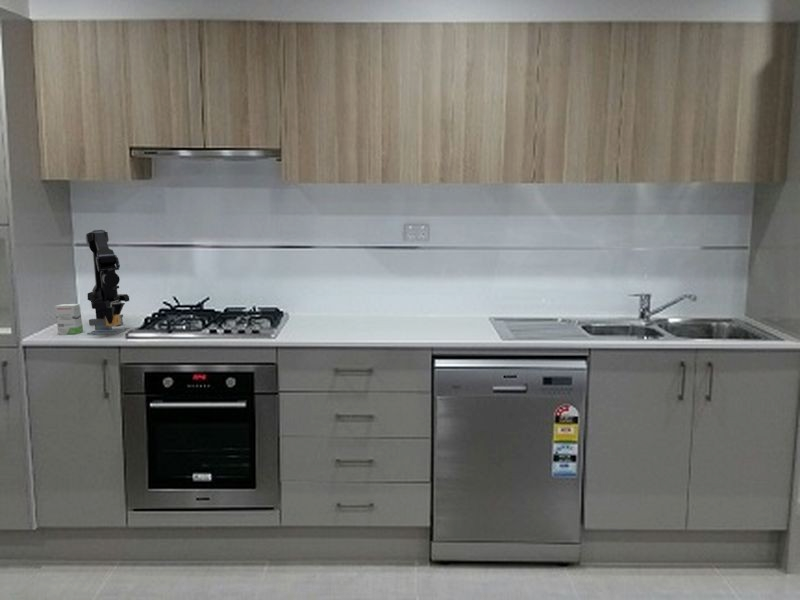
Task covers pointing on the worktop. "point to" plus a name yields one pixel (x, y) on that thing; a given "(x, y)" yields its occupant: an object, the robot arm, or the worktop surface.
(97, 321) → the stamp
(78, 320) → the ink box
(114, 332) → the mat
